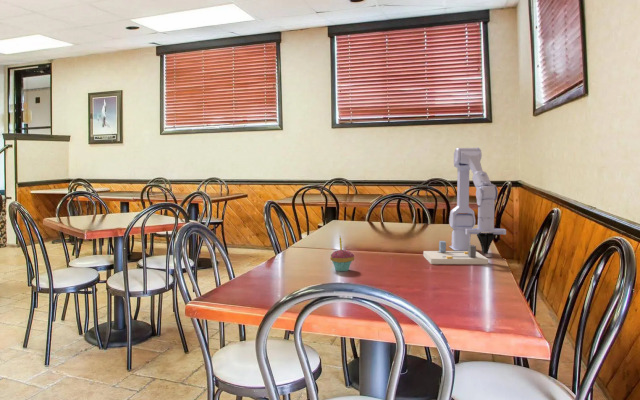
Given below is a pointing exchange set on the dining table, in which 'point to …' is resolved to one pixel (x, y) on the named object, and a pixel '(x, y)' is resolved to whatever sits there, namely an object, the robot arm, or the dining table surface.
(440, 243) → the grey rectangular block
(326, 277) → the dining table surface
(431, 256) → the switch board
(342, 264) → the cupcake
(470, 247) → the gray tab
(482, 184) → the robot arm
